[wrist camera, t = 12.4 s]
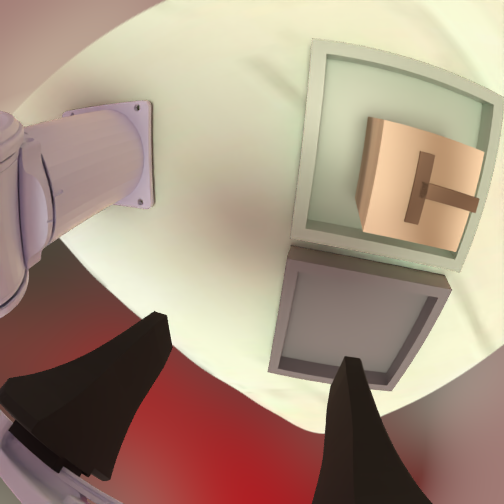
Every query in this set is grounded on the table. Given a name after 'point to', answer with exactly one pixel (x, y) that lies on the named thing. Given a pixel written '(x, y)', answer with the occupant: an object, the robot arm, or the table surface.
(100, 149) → the robot arm
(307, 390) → the table surface
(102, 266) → the table surface
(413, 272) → the charcoal tray
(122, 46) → the table surface
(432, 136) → the letter cube
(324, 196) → the sage tray
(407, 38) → the table surface
